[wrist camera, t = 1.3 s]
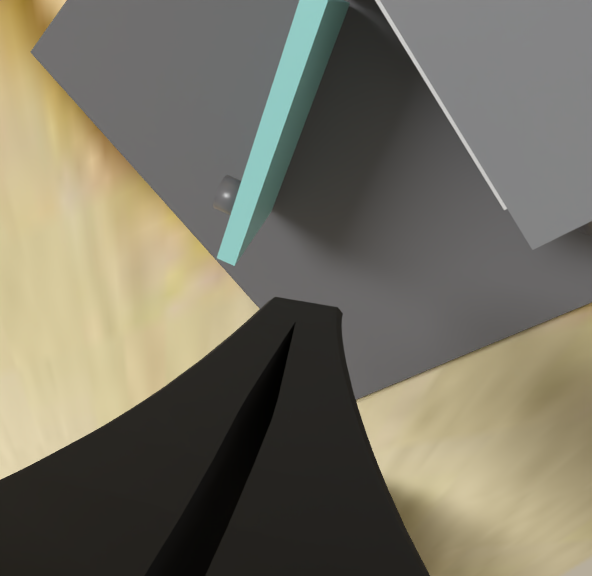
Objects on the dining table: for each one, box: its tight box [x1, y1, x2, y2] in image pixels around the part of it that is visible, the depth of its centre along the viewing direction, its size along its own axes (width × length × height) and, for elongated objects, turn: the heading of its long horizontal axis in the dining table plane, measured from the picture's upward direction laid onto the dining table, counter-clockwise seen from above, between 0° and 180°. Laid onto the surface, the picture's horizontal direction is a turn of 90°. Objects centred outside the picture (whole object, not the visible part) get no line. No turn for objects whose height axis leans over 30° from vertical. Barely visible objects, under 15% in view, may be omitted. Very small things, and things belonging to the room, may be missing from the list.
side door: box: [213, 0, 350, 266], centre depth 14 cm, size 2×8×5 cm, turn 159°
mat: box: [31, 0, 592, 399], centre depth 14 cm, size 24×20×1 cm
